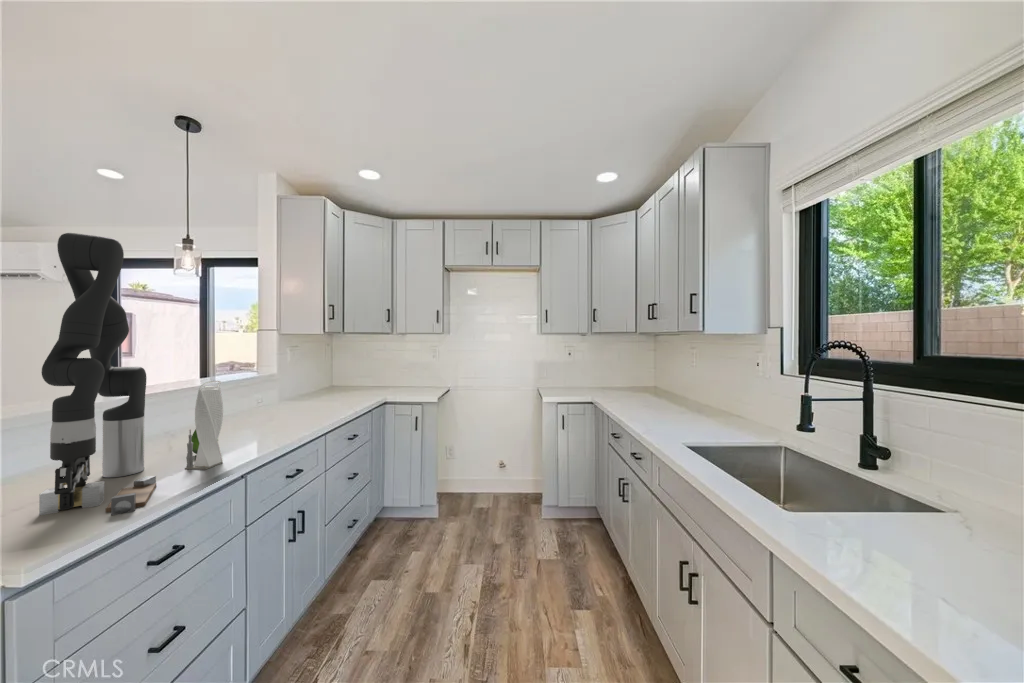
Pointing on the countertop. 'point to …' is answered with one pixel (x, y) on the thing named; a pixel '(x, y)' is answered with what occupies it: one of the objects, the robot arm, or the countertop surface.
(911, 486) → the countertop surface
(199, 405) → the skyscraper
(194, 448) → the avocado
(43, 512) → the gray and yellow block
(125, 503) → the coupling stand
